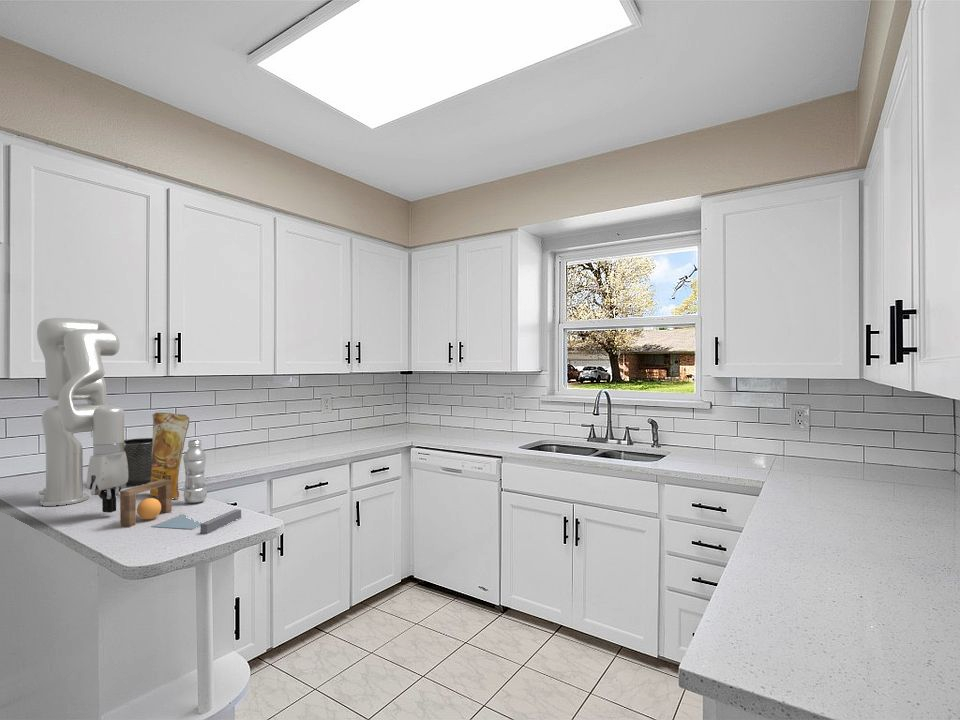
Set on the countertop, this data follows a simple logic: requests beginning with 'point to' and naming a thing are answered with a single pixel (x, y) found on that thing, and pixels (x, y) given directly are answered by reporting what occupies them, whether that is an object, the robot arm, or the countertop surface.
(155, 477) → the pancake mix bag
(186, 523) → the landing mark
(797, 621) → the countertop surface
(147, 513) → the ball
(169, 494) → the bridge
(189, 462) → the plastic bottle
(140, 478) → the planter
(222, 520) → the stopper
